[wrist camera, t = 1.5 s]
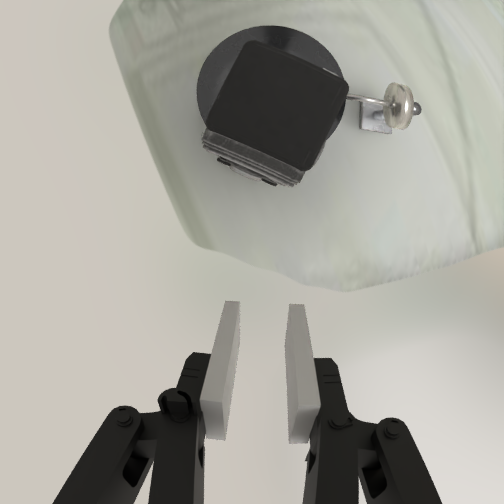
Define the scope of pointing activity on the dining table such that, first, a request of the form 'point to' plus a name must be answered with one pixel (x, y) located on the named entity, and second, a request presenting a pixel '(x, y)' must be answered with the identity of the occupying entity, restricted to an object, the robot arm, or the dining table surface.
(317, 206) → the dining table surface
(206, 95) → the disc
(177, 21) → the dining table surface
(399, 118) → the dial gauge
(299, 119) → the camera
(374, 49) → the dining table surface
